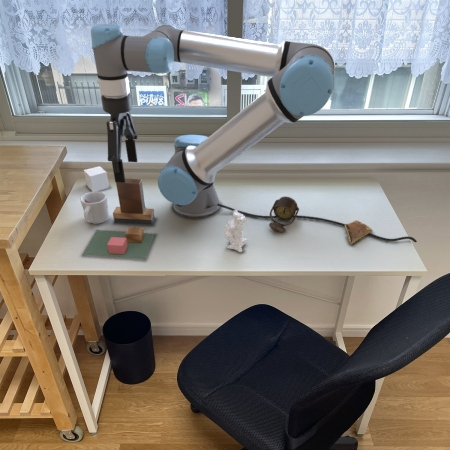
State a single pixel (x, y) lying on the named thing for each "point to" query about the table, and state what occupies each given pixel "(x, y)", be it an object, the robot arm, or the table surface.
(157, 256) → the table surface
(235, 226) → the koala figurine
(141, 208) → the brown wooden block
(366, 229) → the shard
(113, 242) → the eraser block
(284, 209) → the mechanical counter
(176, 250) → the table surface
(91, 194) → the cup
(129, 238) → the cork block
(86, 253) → the desk mat
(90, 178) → the white cube
